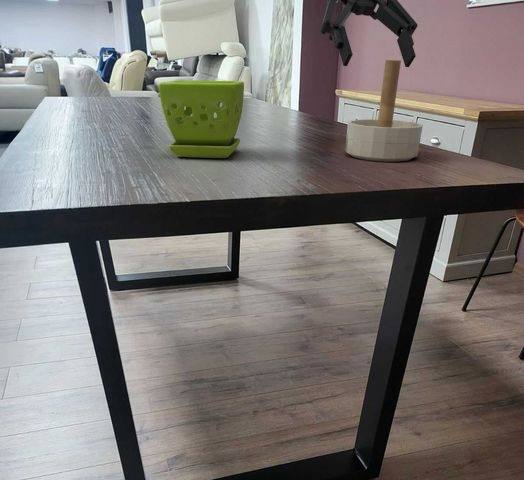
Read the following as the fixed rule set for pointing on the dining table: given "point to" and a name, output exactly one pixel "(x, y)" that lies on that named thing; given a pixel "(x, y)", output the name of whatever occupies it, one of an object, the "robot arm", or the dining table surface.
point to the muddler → (388, 93)
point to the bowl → (383, 140)
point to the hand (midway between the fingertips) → (380, 61)
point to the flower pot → (202, 116)
